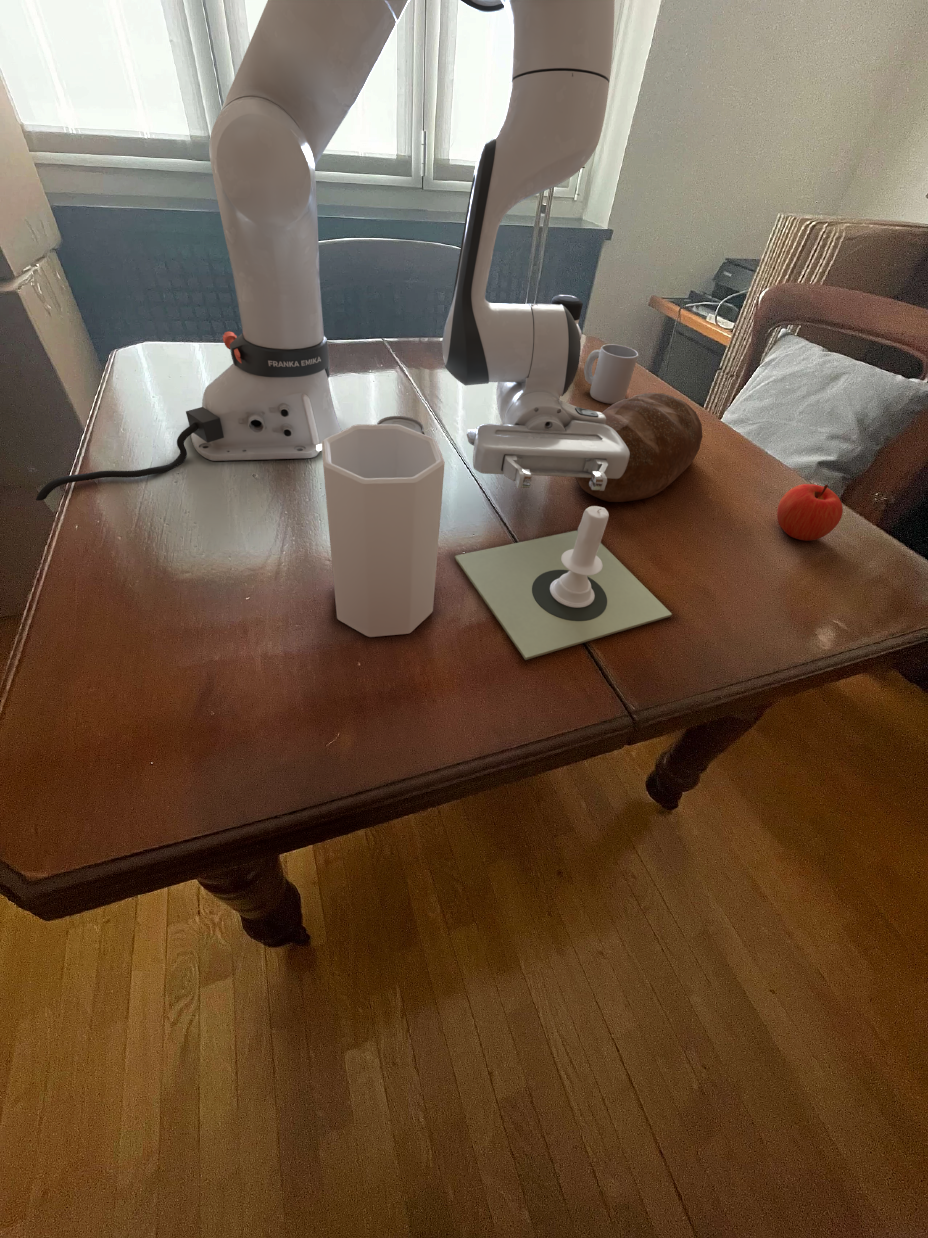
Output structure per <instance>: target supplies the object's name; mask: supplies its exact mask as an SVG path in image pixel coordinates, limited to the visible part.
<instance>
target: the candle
mask: <svg viewBox="0 0 928 1238" xmlns="http://www.w3.org/2000/svg"><path fill="white" fill-rule="evenodd" d="M609 517H610V515H609V511H608V510H607V508H605V507H602V506H598V505H591V506H589V507H587V508H585V510H584V511H583V514H582V517H581V520H580V523H579V525H578V527H577V530H578V537H577V540H576V543H575V547H574V549H571V550H567V551H566V552H564V553H563V554H562V556H561V561H562V563H563V565H564V566H565V567H566V568H567V569H568V570H570V571H569V572H568V573H565V574H563V575H562V576H561V577H560V578H558V579H556V580H554V581H553V582H552V583H551V585H550V592H551V595H552V596H553V597H554V599H555V600H557V601H558V602H559V603H561V604H563V605H565V606H569V607H574V608H581V607H586V606H588V605H590V604H591V603H592V602H593V600H594V597H595V595H594V591H593V590H592V588H591V583H590V581H589V580H588V578H587V575H594V574H597V573H599V572H600V571H601V570H602V567H603V565H602V561H601V560H600V558H599V557H598V556H596V554H597V551H598V548H599V545H600V542H601V543H602V540H603V538H604V537H603V536H604V533H605V530H606V527H607V524H608V521H609Z"/></svg>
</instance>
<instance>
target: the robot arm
mask: <svg viewBox="0 0 928 1238" xmlns="http://www.w3.org/2000/svg"><path fill="white" fill-rule="evenodd" d="M459 1H460V2H461V3H463V4H464V5H465V6H467V7H469V8H470V9H472V10H475V11H477V12H480V13H484V14H492V13H493V14H494V13H497V12H500V11H502V10H504V9H505V10H506V13H507V16H508V19H509V24H510V31H511V57H510V58H511V59H510V74H509V77H510V78H509V90H508V99H507V105H506V110H505V113H504V117H503V120H502V121H501V124H500V127H499V129H498V131H497V133H496V136H494V137H493V138H492V139H490V140H489V141H487V142H486V143H484V144H483V146H482V148H481V150H480V152H479V155H478V158H477V161H476V165H475V168H474V172H473V177H472V181H471V186H470V191H469V197H468V202H467V207H466V214H465V219H464V223H463V224H464V225H463V230H462V238H461V243H460V250H459V255H458V261H457V268H456V273H455V275H456V276H455V280H454V286H453V292H452V298H451V303H450V308H449V312H448V314H447V317H446V321H445V325H444V328H443V333H442V340H441V353H442V359H443V363H444V368H445V369H446V370H447V371H448V372H449V374H450V375H451V376H452V377H453V378H454V379H456V380H457V381H458V382H459V383H460V384H462V385H464V386H467V387H468V386H475V385H476V386H477V385H486V384H489V383H497V384H496V390H495V396H496V397H495V398H496V407H497V412H498V415H499V419H500V422H501V423H483V424H479V426H476V428H473V429H467V432H466V438H467V442H468V443H469V444H470V445H471V446H473V450H472V466H473V469H474V470H475V471H477V472H478V473H480V474H487V475H503V476H504V477H506V478H508V479H510V480H511V481H513V482H514V483H515V485H516V488H517V489H529V488H530V487H531V482H532V479H533V478H532V476H537V477H562V478H563V477H564V478H575V477H586V478H591V479H590V482H589V486H590V487H591V490H598V491H599V490H600V491H604V489H605V486H606V483H607V478H611V479H618V478H620V477H621V476H622V475H623V474H624V472H625V470H626V467H627V464H628V461H629V457H630V452H629V449H628V447H627V446H626V444H625V443H624V441H623V440H622V438H621V437H620V436H619V435H618V433H617V432H616V431H615V430H614V429H613V428H611V427H609V426H607V425H605V423H606V417H605V415H604V414H602V412H600V411H597V410H592V409H587V408H584V407H579V406H576V405H573V404H571V403H569V402H567V401H564V400H561V397H563V396H564V395H565V394H566V393H567V392H568V391H569V389H570V387H571V386H572V384H573V383H574V380H575V378H576V375H577V372H578V368H579V364H580V360H581V359H580V358H581V350H582V348H581V346H582V345H581V343H582V341H581V340H580V334H579V330H578V327H577V325H576V323H575V321H574V319H573V317H572V315H571V314H570V312H569V311H568V310H567V308H566V307H564V306H563V305H562V304H561V305H556V304H551V303H525V304H524V303H494V302H490V301H488V300H487V299H486V292H487V286H488V281H489V276H490V272H491V265H492V260H493V256H494V255H493V254H494V249H495V244H496V240H497V235H498V231H499V227H500V225H501V223H502V220H503V219H504V217H505V216H506V215H507V213H508V212H509V211H510V210H512V209H513V208H514V207H515V206H516V205H519V204H520V203H521V202H523V201H525V200H528V199H529V198H532V197H534V196H536V195H539V194H541V193H543V192H545V191H548V190H550V189H553V188H556V187H557V186H558V185H561V184H562V183H565V182H566V181H568V180H570V179H571V178H572V177H574V176H575V175H576V174H577V173H579V172H580V170H581V169H583V168H584V167H585V165H586V164H587V163H588V162H589V160H590V159H591V157H592V156H593V155H594V152H595V151H596V149H597V147H598V145H599V143H600V139H601V135H602V132H603V127H604V122H605V117H606V112H607V104H608V99H609V98H608V97H609V88H610V81H611V71H612V63H613V50H614V49H613V48H614V35H615V34H614V33H615V0H459ZM409 2H410V0H267V1H266V4H265V6H264V8H263V11H262V13H261V15H260V18H259V20H258V23H257V25H256V28H255V29H254V32H253V34H252V36H251V39H250V42H249V44H248V46H247V49H246V51H245V53H244V55H243V58H242V59H241V62H240V64H239V67H238V69H237V72H236V74H235V76H234V79H233V81H232V83H231V86H230V88H229V90H228V93H227V95H226V97H225V99H224V102H223V104H222V106H221V109H220V111H219V113H218V116H217V118H216V120H215V122H214V123H213V125H212V129H211V132H210V137H209V145H208V152H209V161H210V166H211V173H212V177H213V178H212V179H213V183H214V189H215V193H216V199H217V204H218V209H219V214H220V220H221V225H222V229H223V234H224V239H225V244H226V248H227V253H228V257H229V262H230V267H231V272H232V276H233V283H234V288H235V294H236V300H237V306H238V312H239V319H240V324H241V330H242V333H240V334H239V335H238V336H237V334H235V332H233V331H225V332H224V333H223V335H222V341H223V343H224V345H225V347H226V348H227V349H228V350H229V351H230V356H231V359H232V360H231V361H232V364H231V365H229V366H228V367H227V368H226V369H225V370H224V371H223V372H222V373H221V374H219V376H217V377H216V378H215V379H214V380H212V381H211V382H210V383H209V384H208V385H207V386H206V387H205V389H204V391H203V393H202V398H201V399H202V400H201V407H200V406H199V407H197V408H193V409H189V410H186V411H185V414H186V419H187V422H188V426H187V427H186V428H185V429H183V431H181V432H180V434H179V435H178V436H177V439H176V445H177V448H178V450H179V455H178V456H177V457H176V458H175V459H174V460H173V461H172V462H170V463H167V464H164V465H163V464H162V465H159V466H152V467H148V468H143V469H142V468H141V469H135V470H98V471H92V472H85V473H77V474H69V475H64V476H60V477H57V478H55V479H53V480H51V481H49V482H48V483H47V484H45V485H43V487H42V488H41V489H40V490H39V492H38V494H37V496H36V498H35V501H44V500H46V499H47V498H48V496H49V495H50V494H51V493H52V492H53V491H54V490H55V489H57V488H59V487H60V486H63V485H67V484H71V483H78V482H85V481H92V480H97V479H104V478H106V479H108V478H125V479H126V478H128V479H129V478H141V477H147V476H152V475H157V474H162V473H166V472H168V471H171V470H173V469H175V468H177V467H178V466H180V465H181V464H183V463H184V462H185V460H186V459H187V457H188V450H187V448H186V446H185V442H186V440H187V438H189V437H190V439H191V443H192V445H193V447H194V449H195V450H196V452H197V453H198V454H199V455H200V456H201V457H203V458H205V459H207V460H209V461H215V462H216V461H219V462H220V461H222V462H223V461H254V460H257V461H258V460H286V459H287V460H289V459H291V460H293V459H294V460H295V459H312V458H315V457H317V456H318V455H319V454H320V452H322V441H323V440H324V439H326V438H328V437H330V436H332V435H334V434H336V433H338V432H340V431H342V427H341V424H340V421H339V418H338V415H337V413H336V409H335V405H334V401H333V397H332V392H331V386H330V380H329V378H330V370H331V361H330V359H331V358H330V348H329V343H328V338H327V337H326V336H325V333H324V321H323V305H322V293H321V292H322V291H321V278H320V277H321V276H320V246H319V245H320V244H319V243H320V242H319V222H318V221H319V219H318V197H317V181H316V180H317V179H316V166H317V164H318V162H319V161H320V159H321V157H322V155H323V154H324V152H325V150H326V149H327V147H328V146H329V144H330V142H331V141H332V139H333V137H334V136H335V134H336V132H337V131H338V129H339V128H340V126H341V124H342V123H343V122H344V119H345V118H346V117H347V115H348V113H349V112H350V111H351V109H352V108H353V106H354V105H355V104H356V102H357V101H358V99H359V98H360V95H361V93H362V92H363V89H364V88H365V86H366V84H367V82H368V80H369V79H370V76H371V74H372V72H373V71H374V69H375V66H376V65H377V63H378V61H379V60H380V58H381V55H382V54H383V52H384V50H385V48H386V46H387V44H388V42H389V40H390V38H391V37H392V34H393V32H394V30H395V29H396V27H397V25H398V23H399V22H400V19H401V17H402V15H403V13H404V11H405V9H406V7H408V6H407V5H408V3H409Z"/></svg>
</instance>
